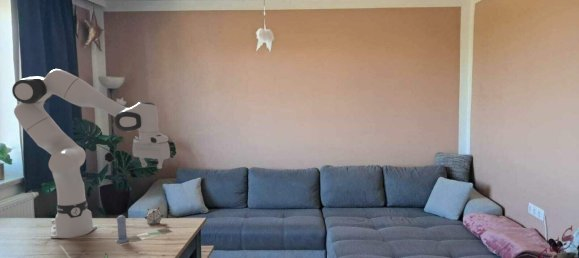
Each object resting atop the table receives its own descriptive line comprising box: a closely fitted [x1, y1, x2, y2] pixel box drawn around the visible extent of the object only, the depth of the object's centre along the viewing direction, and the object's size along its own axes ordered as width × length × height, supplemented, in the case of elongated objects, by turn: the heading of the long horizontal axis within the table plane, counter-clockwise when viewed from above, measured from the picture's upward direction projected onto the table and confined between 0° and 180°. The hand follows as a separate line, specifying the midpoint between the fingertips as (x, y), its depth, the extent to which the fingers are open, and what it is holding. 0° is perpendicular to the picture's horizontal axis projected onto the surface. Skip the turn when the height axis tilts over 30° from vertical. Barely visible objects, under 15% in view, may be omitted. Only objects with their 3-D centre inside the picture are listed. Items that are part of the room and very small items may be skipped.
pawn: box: [116, 214, 129, 245], centre depth 171 cm, size 4×4×11 cm
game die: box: [144, 207, 164, 225], centre depth 194 cm, size 9×8×10 cm
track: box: [114, 227, 173, 246], centre depth 178 cm, size 7×22×1 cm, turn 130°
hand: (151, 167), depth 188 cm, fingers open, 8 cm apart
